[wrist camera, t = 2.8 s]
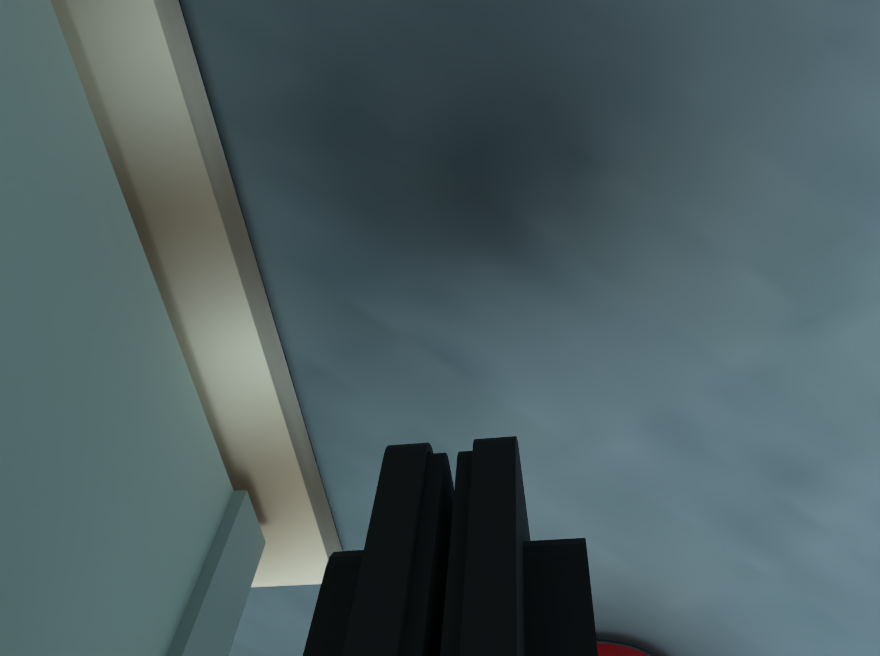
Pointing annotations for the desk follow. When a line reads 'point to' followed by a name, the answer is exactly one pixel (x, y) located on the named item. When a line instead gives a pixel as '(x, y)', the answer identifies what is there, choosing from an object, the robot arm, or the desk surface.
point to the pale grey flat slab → (97, 400)
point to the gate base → (203, 266)
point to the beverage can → (618, 649)
